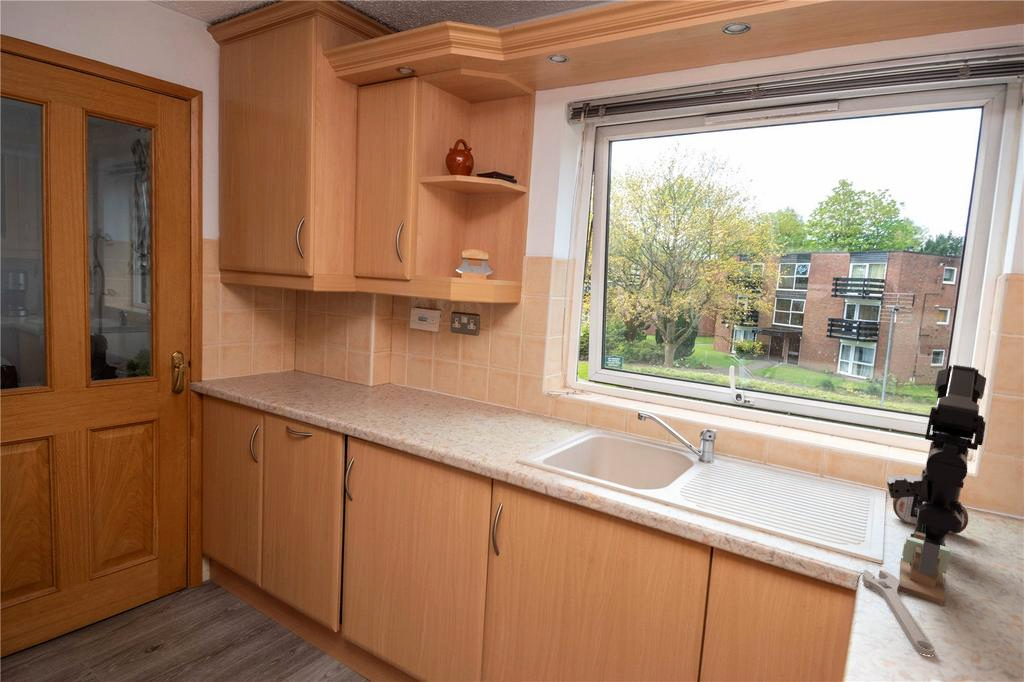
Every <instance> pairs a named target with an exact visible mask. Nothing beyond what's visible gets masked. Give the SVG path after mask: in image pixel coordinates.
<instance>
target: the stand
mask: <svg viewBox="0 0 1024 682" xmlns="http://www.w3.org/2000/svg"><path fill="white" fill-rule="evenodd" d="M915 538H916V539H920V540H923V541H924V538H925V534H923V533H920V532H916V533H915ZM920 557H921V547H918V546H916V547H915V552H914V556H913V559H912V563H908V562H905V561H903V557H901V558H900V562H899V579H898V580H899V581H900V585H899V590H898V592H899V593H903V594H906V595H908V596H911V597H915V598H918V599H921V600H924V601H926V602H929V603H933V604H936V605H940V606H942V607H945V606H946V605H945V604H946V601H947V600H946V593H945V583H944V573H941V572H938V570H939V569H938V566H939V561H940V553H939V555H938V560H937V565H936V570H935V575H934V576H931V575H928V574H925V573H921V572H918V567H919V562H920Z"/></svg>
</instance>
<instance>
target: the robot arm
mask: <svg viewBox="0 0 1024 682" xmlns="http://www.w3.org/2000/svg"><path fill="white" fill-rule="evenodd" d="M979 370H980V369H976V367H973V366H972V367H971V366H966V365H965V366H964V365H959V364H958V365H957V364H952V365H951V364H950V365H948V368H944V369H941V370H938V371H937V375H936V380H935V385H934V392H937V397H936V402H937V403H936V406H931V408H930V413H929V418H928V422H927V426H926V427H927V428H926V431H925V437H924V438H925V439H924V440H927V441H931V442H930V444H929V445H930V446H929V450H928V456H927V459H926V463H925V465H926V466H925V468H923V469H922V470H921V471H922V473H921V474H920V475H919V474H917V475H915V474H914V475H913V474H909V475H891V476H887V478H886V483H887V488H888V489H887V490H888V493H889V497H890V498H891V499H894V498H895V499H897V498H900V497H914V498H913V503H912V508H911V514H910V516H911V517H916V518H917V520H916V525H914V532H913V533H910V536H909V537H913V538H915V533H916V532H920V533H923V534H925V538H926V539H930V540H934V541H937V542H940V545H941V546H945V547H946V543H945V541H946V537H947V535H948V534H947V533H948V532H949V531H951V532H955V533H957V534H961V532H960V531H961V526H962V520H961V518H962V515H963V511H964V510H963V509H962V507H961V505H962V504H961V501H960V495H961V491H962V489H963V488H964V484H965V483H964V479H965V478H966V476H967V475H968V456H969V451H970V450H975V451H978V448H979V446H983V443H984V437H985V430H986V423H987V422H986V421H985V420H984V417H983V415H979V413H980V411H979V410H980V406H979V405H980V404H978V401H979V400H983V398H984V394H985V389H986V384H987V377H985V376H984V375H983V374H981V373H979V372H980V371H979ZM931 431H932V434H930V433H931ZM973 440H974V441H973ZM972 441H973V442H972ZM915 508H917V509H918V510H917V509H915Z"/></svg>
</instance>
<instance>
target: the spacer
mask: <svg viewBox="0 0 1024 682" xmlns="http://www.w3.org/2000/svg"><path fill="white" fill-rule="evenodd" d="M923 542H924V541H923V540H920V539H916V538H913V537H910V536H909V535H906V538H905V539H904V542H903V547H902V554H901V555H902V558H903V561H905V562H908V563H912V559H913V556H914V552H915V547H916V546H918V547H921V548H922V547H923ZM939 553H940V561H939V566H938V569H939V570H938V572H941V573H943V574H947V570H949V566H950V561H951V548H950V547H947V546H946V545H945V546H941V545H940V550H939Z"/></svg>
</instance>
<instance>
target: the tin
mask: <svg viewBox="0 0 1024 682" xmlns="http://www.w3.org/2000/svg"><path fill="white" fill-rule="evenodd" d="M913 498H914V497H900V498H897V499H895V498H892V499H893V500H892V507H893V512H894V513H895V515H896V517H898V519H900V521H902V522H904V523H905V524H908V525H912V526H915V525H916V520H917V518H916V517H911V516H910V514H911V508H912V503H913ZM961 507H962V509H963V510H964V511H963V515H962V518H961V520H962V526H961V531H960V533H961V532H964V531H965V529H966V528H967V526H968V524H969V514H968V511H967V509H966V508H965V506H963V504H961ZM915 509H917V508H915ZM917 510H918V509H917ZM956 534H958V533H955V532H951V531H949V532H948V533H947V534H946V535H956Z"/></svg>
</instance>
